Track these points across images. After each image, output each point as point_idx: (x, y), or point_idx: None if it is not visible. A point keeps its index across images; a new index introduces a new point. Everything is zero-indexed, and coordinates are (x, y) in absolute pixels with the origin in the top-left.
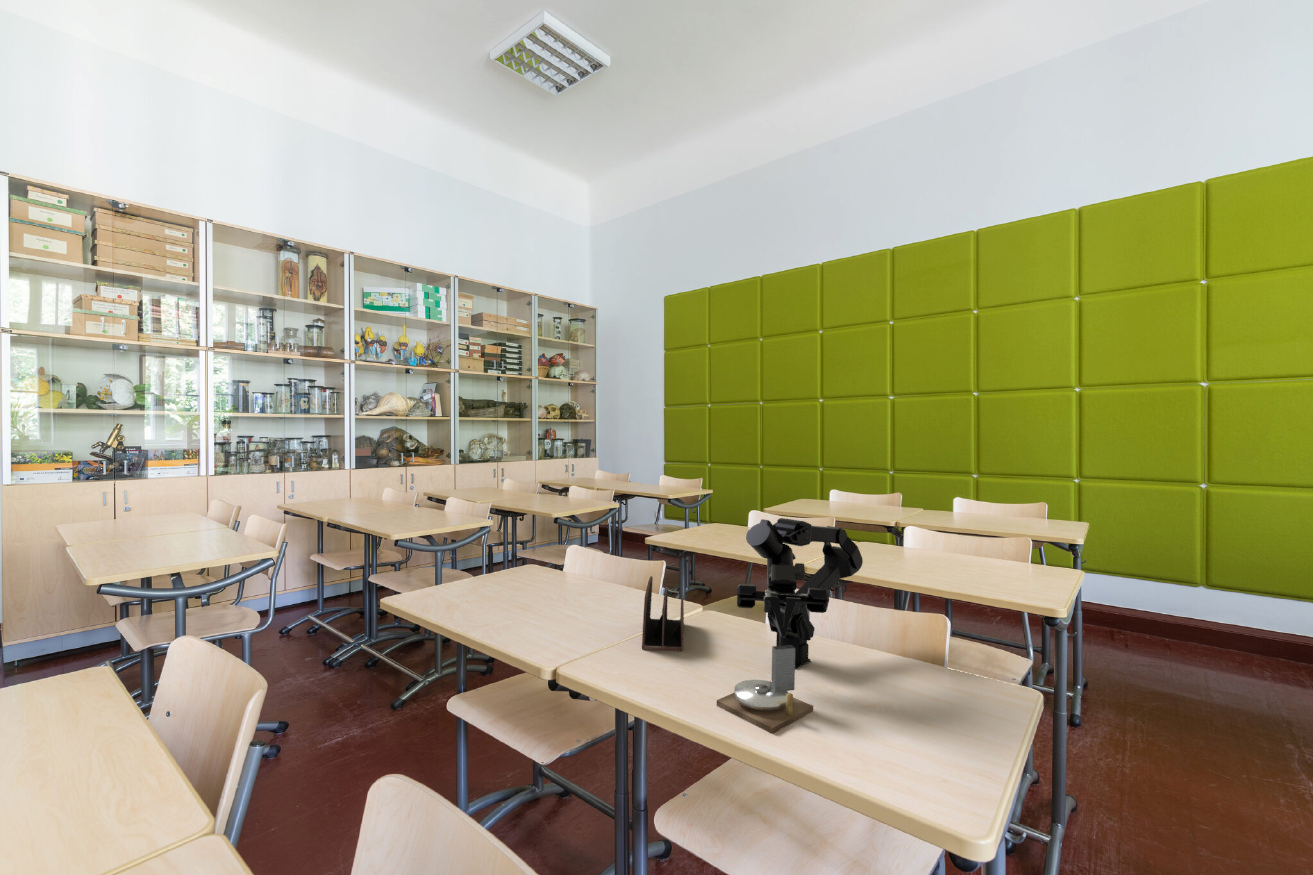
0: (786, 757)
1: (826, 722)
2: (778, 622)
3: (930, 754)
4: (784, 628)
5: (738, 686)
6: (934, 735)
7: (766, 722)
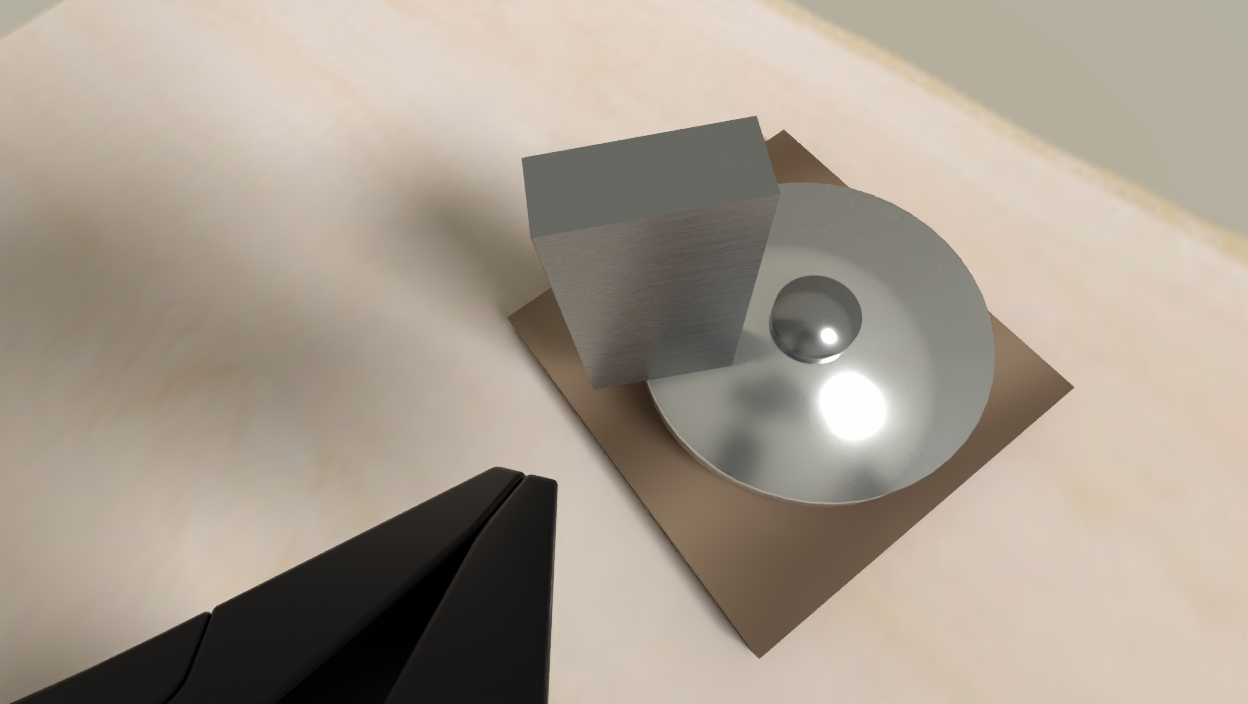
0: (759, 20)
1: (499, 234)
2: (534, 612)
3: (242, 50)
4: (465, 514)
5: (964, 392)
6: (123, 150)
7: (802, 170)
